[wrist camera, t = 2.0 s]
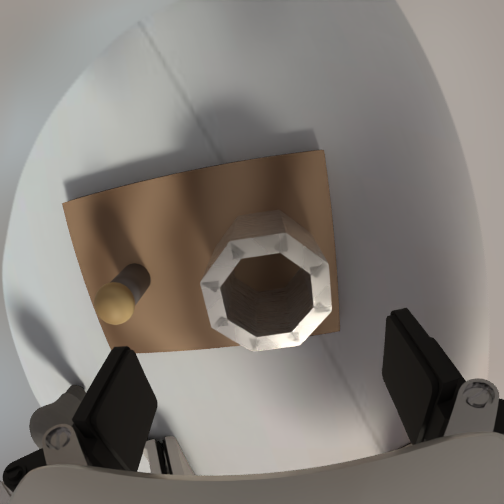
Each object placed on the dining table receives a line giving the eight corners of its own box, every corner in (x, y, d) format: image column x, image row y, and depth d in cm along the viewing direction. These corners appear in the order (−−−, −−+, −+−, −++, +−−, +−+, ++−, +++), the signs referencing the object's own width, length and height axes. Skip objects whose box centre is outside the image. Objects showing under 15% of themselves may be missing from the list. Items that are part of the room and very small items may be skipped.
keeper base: (319, 149, 21) (346, 151, 15) (336, 321, 26) (357, 376, 19) (71, 200, 23) (17, 220, 16) (118, 344, 27) (88, 394, 20)
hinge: (136, 433, 32) (142, 498, 23) (172, 426, 33) (186, 490, 24) (176, 494, 37) (189, 545, 28) (204, 488, 38) (221, 538, 29)
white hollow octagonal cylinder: (307, 205, 21) (325, 227, 16) (317, 294, 23) (333, 339, 18) (209, 220, 22) (191, 247, 16) (227, 307, 24) (218, 355, 18)
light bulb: (53, 370, 29) (11, 427, 20) (86, 368, 29) (44, 432, 19) (76, 405, 31) (43, 463, 21) (110, 405, 30) (78, 470, 21)
